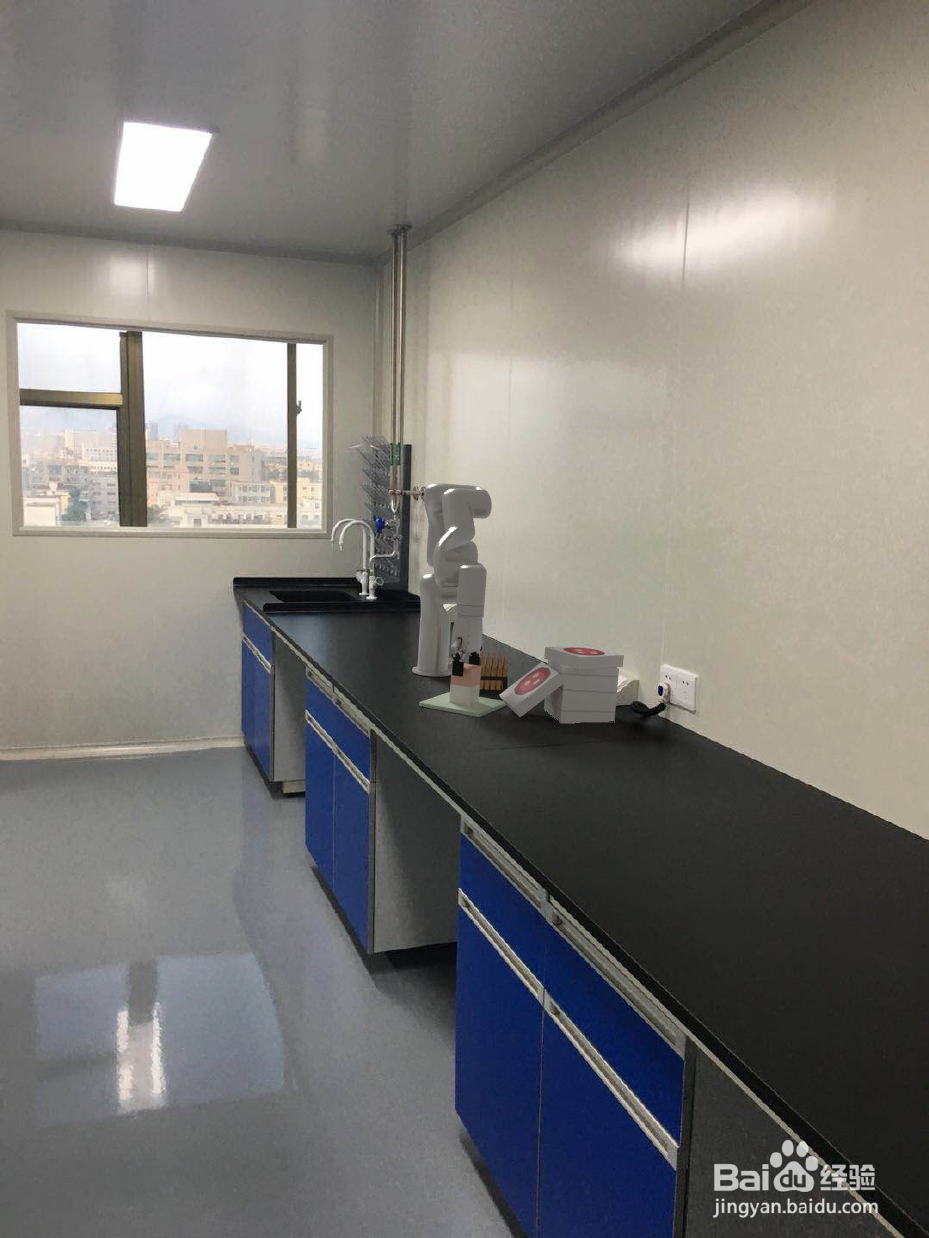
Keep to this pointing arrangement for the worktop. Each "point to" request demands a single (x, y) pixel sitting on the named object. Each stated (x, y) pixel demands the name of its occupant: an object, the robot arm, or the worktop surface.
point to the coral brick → (468, 676)
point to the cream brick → (464, 694)
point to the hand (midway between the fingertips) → (465, 673)
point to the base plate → (473, 710)
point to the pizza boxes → (570, 685)
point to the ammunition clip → (493, 674)
